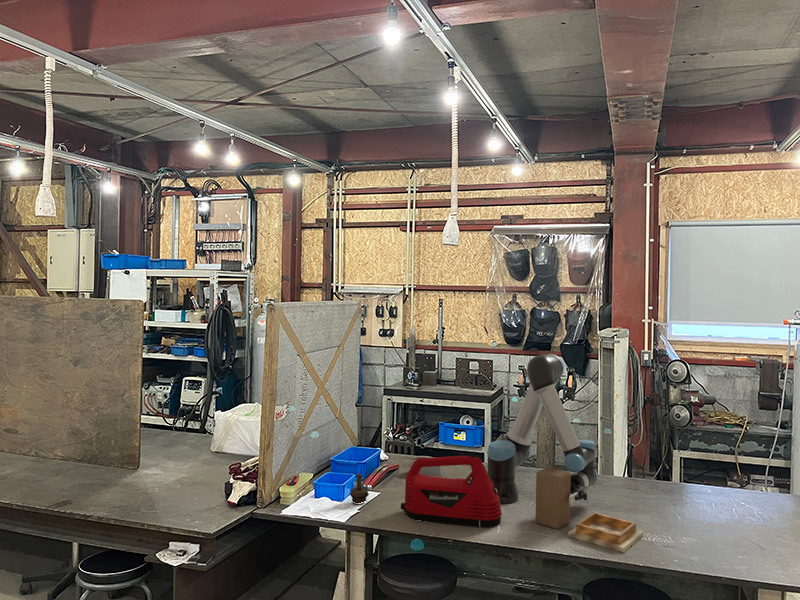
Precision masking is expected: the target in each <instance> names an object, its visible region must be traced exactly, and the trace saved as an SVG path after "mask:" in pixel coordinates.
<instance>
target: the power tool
mask: <svg viewBox="0 0 800 600" xmlns="http://www.w3.org/2000/svg"><path fill="white" fill-rule="evenodd" d="M432 457H433V456H432ZM434 466H443V467H448V466H449V467H451V466H470V468H471V472H470V473H469V474H468V475H467V477H466V478H458V477H450V476H433V475H423V474H420V473H419V471H420V469H421V468H422V467H434ZM497 493H498V492H497V489H496V488H495V487H494V485H493V483H492V481H491V479H490V477H489V475H488V470H487V469H486V467H485V465H484V463H483V462H482V460H481V458H480V457H478V456H474V455H452V456H436V457H433V458H418V459H417V460H415V461H414V463H413V465H412V467H411V469H410V468H409V470H408V473H407V474H406V476H405V487H404V496H405V497H404V502H401V503H400V509H401V510H403V512H404V513H405V516H406V515H407V516H408V517H409V518H408V517H407V516H406V517H407V518H408V519H410V518H411V519H410V520H412V519H414V520H413V521H415V520H421V521H420V522H424V521H427V522H426V523H433V524H443V525H452V526H460V527H461V526H462V527H470V528H472V527H473V528H481V529H482V528H484V529H486V528H487V529H488V528H492V527H496V526H498V525H500V524H501V523H502V516H503V515H502V509H501V508H502V505H501V503H500V498H499V496H498V494H497Z"/></svg>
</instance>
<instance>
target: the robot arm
mask: <svg viewBox="0 0 800 600" xmlns="http://www.w3.org/2000/svg"><path fill="white" fill-rule="evenodd" d="M564 371H565V366H564V362H563V360H562V359H561V358H560V357H559V356H557V355H556V354H553V353H544V354H542V355H536V356H534V357H532V358H531V359H530V360H529V361H528V363H527V366H526V373H527V377H528V381H529V383H530V384H529V385H528V389H527V390H526V393H525V396H524V398H523V402H522V403H521V406H520V408H519V411H518V414H517V415H516V419H515V421H514V423H513V426H512V429H511V430H509V431H507V432H506V434H505V437H504V439H502V440H501V439H500V440H495V441H492V442H490V443H489V444H488V447H487V473H488V475H489V477H490V479H491V481H492V483H493V485H494V487H495V488H496V489H497V492H498V493H497V494H498V496H499V498H500V504H511V503H515V502H517V501H518V500H519V491H518V487H517V484H516V481H515V478H516V477H515V476H516V474H515V473H516V471H515V470H516V468H517V467H519V466H521V465H523V464H524V463H526V461H527V460H528V459H529V458H530V454H531V446H532V440H531V439H530V438H531V437H532V434H533V432H534V429H535V427H536V424H537V422H538V418H539V416H540V414H541V412H542V410H543V409H544V411H545V414H546V416H547V418H548V421H549V423H550V426H551V427H552V430H553V433H554V434H555V436H556V439H557V441H558V444H559V446H560V448H561V450H562V453H563V455H564V466H565V468H566V469H567V471H568V472H570V473H571V483H570V496H569V504H570V505H571V504H573V503H575V502H578V501H580V500H584V501H587V500H588V488H589V487H592V486H593V485H595V484H596V483H597V481H598V479H599V473H598V472H597V470H596V467H595V465H596V461H595V460H596V446H595V445H596V444H595V442H594V441H593V440H590V439H578V437H577V434H576V432H575V429H574V427H573V425H572V423H571V421H570V418H569V416H568V414H567V411H566V409H565V407H564V404H563V402H562V400H561V398H560V396H559V393H558V391H557V389H556V385H557V382H558V379H560V378H561V377H562V375H563V374H564Z"/></svg>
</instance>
